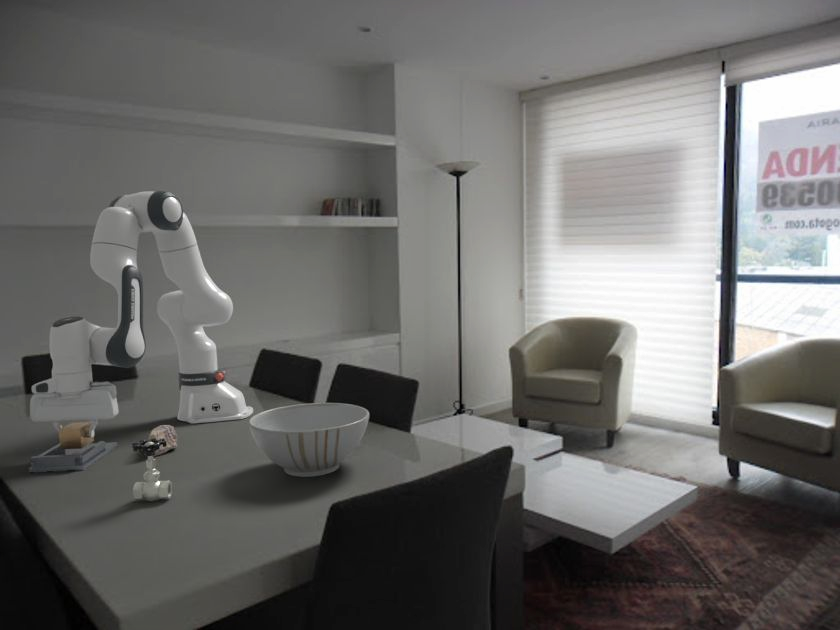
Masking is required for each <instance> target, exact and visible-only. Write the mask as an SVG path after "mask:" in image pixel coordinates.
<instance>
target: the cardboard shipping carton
mask: <svg viewBox="0 0 840 630" xmlns="http://www.w3.org/2000/svg"><path fill="white" fill-rule="evenodd" d="M90 426H91V424H89V421H79V422H77V421H76V422H71V423H68V424H66V425H65V426H64V427H63V428H61V429H59V432H58V437H59V436H60V438H59V443H60V448H61V450H63V449H82V448H83V447H85V446H87V445H88V444H90V443H94V442H95V436H94V437H87V438H86V434H85V431H86V430H88V429H89V428H90Z"/></svg>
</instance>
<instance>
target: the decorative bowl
mask: <svg viewBox="0 0 840 630" xmlns="http://www.w3.org/2000/svg"><path fill="white" fill-rule="evenodd" d="M369 420H370V412H369V410H368V409H366V408H365V407H362V406H359V405H355V404H349V403H341V402H314V403H300V404H293V405H291V404H290V405H286V406H285V405H284V406H280V407H275V408H271V409H268V410H264V411H261V412H259V413H257V414H255V415H252V416H251V417H250V419H249V420H248V428H249V430H250V433H251V436H252V437H253V440H254V442H255V443H256V445H257V446H258V448H259V449H260V451H261V452H262V453H263V454H264V455H265V456H266V457H267V458H268V459H269V460H270V461H271V462H273V463H274V464H275V465H277V466H279V467H281V468H283V469H284V472H285V473H286V474H288V475H290V476H293V477H300V478H301V477H303V478H304V477H305V478H307V477H308V478H309V477H319V476H325V475H328V474H331V473H334V472H335V471H337V470H338V469H339V468H340V466H341V465H340V463H343V462H344V461H345V460H346V459H348V458H349V457H350V456H351V455H352V454H353V453H354V451H355V450H356V449H357V448H358V446H359V445H360V443H361V441H362V439H363V437H364V436H365V433H366V430H367V427H368V424H369Z"/></svg>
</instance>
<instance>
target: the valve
mask: <svg viewBox="0 0 840 630" xmlns="http://www.w3.org/2000/svg"><path fill="white" fill-rule="evenodd" d="M154 443H155V444H154ZM161 445H163V447H166V446H167V442H166V441H165V439H164V438H162V439H159V440H157V438H151V440H149V439H148V440H146V439H140V440H139V442H132V443H131V447H132V451H133V452H139V453H140V454H144V457H147V459H146V460H145V467H146V468H147V470H146V471H145V472H144V473H143V480H145V481H140V482H139V481H136V482H135V483H134V485H133V489H132V497H133V499H134V501H137V502H141V501H146V502H147V501H148V502H156V501H159V500H160V499H161V500H169V499H171V497H172V494H173V485H172V484H173V483H172V481H171V480H159V478H160V475H161V474H160V473H161V472H160V471H159V470H157V469H156V468H155V467H157V463H156V459H155V458H154V457H153V455H155V454H156V453H155V451H157V450H159V449H160V446H161Z"/></svg>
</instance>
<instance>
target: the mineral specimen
mask: <svg viewBox="0 0 840 630" xmlns="http://www.w3.org/2000/svg"><path fill="white" fill-rule="evenodd" d="M151 438H157V440H159V439H162V438H164V439H165V441H166V442H167V446H166V447H163V445H161V446H160V449H159V450H157V451H155V453H156V454H155V455H153V458H154V457H156V456H157V457H158V456H160V455H162V454H165V453H166V452H169V451H171V450H175V449H176V448H177V447H178V434H177V431H176V430H175V427H174V426H172V425H170V424H162V425H159V426H156V427H154V428H153V429H152V430H151V431H150V433H149V434H148V440H151ZM154 444H155V443H154Z"/></svg>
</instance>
